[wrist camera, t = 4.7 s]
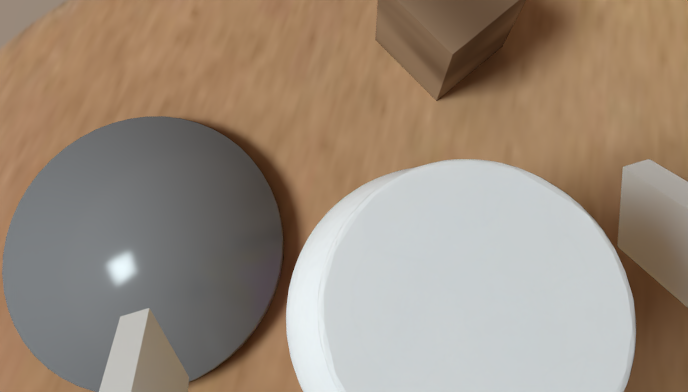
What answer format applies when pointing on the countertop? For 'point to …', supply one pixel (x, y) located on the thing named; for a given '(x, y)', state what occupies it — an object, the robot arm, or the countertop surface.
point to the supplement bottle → (460, 288)
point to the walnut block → (443, 36)
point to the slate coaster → (143, 247)
